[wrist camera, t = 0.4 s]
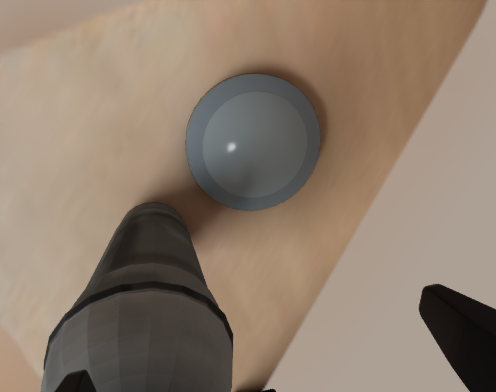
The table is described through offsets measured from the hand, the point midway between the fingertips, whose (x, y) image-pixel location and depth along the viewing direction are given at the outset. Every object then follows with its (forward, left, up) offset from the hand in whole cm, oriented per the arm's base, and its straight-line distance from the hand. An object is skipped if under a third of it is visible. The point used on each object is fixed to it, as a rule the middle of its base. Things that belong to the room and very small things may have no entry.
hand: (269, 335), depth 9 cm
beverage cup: (-4, +4, -16) cm, 17 cm away
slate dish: (+1, -3, -16) cm, 16 cm away
